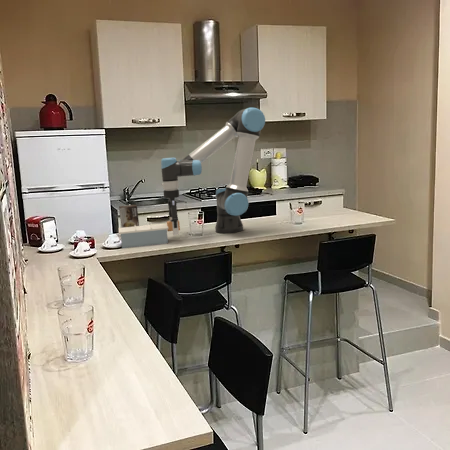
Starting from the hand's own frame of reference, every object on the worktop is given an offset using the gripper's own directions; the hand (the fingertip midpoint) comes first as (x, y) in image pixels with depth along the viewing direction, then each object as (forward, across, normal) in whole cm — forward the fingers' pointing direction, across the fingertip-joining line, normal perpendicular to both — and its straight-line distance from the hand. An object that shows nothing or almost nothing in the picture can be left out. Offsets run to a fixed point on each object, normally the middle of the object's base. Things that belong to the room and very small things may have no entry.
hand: (174, 232), depth 258 cm
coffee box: (+5, -33, -21) cm, 40 cm away
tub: (+5, 0, -15) cm, 16 cm away
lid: (-1, 0, -12) cm, 12 cm away
